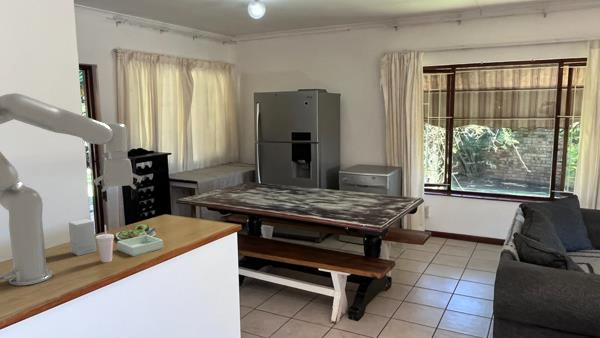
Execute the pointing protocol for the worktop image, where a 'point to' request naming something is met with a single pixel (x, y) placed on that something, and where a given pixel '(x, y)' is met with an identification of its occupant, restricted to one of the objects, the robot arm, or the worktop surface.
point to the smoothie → (105, 246)
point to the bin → (140, 245)
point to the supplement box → (82, 237)
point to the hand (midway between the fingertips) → (119, 200)
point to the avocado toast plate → (136, 232)
